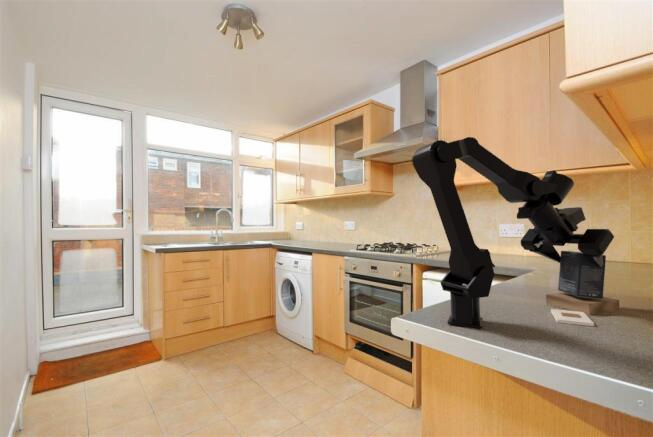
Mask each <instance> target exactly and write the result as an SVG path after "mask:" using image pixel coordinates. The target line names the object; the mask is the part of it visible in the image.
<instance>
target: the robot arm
mask: <svg viewBox="0 0 653 437" xmlns="http://www.w3.org/2000/svg"><path fill="white" fill-rule="evenodd" d="M456 160H460V161H461V162H462V163H464V164H465V165H466V166H468V167H469V168H471V170H474V171H476V172H477V173H478V174H479V175H481V176H483V177H484V178H485V179H487V180H488V181H489V182H491V183H493V184H494V185H495V186H496V188H497V192H498V193H499V195H500V196H502V198H503V199H505V201H506V202H508V203H510V204H517V203H524V204H523V205H522V206H519V207H518V208H517V209H518V211H517V213H516V219H518V220H520V219H521V220H523V219H524V220H525V219H527V220H528V221H529V222H530V223H531V225H533V228H529V229H528V230H527V231H526V233H525V234H524V236H523V237H522V238H521V240H520V246H521V247H522V249H524V251H529V252H532V253H534V254H537V255H539V256H542V257H545V258H547V259H549V260H552V261H553V262H556V263H559V264H560V258H561V254H560V253H559V252H558V251H557V249H556V248H555V246H557V247H564V246H565V245H566V244H573V245H575V244H576V245H577V250H578V252H582V253H583V256H584V257H585V258H587V259H588V260H590V261H591V262H592V263H594V264H595V265H597V266H598V267H602V266H603V256H602V255H605V252H606V251H607V249H608V248H609V246H610V244H611V243H612V241H613V240H614V238H615V235H614V234H613V233H612V231H611V230H610V229H609V228H587V229H586V230H585V231H584V233H574V232H577V230H578V229H579V227H578V224H580V223H582V222H585V221H586V216H585V213H584V210H583V208H582V207H581V206H580V207H578V206H577V207H566V208H558V207H554V206H559V205H560V204H562V203H563V201H564V200H565V198H567V196H568V195H569V193H570V192H571V190H572V189H573V188H574V185H575V182H574V180H573V179H572V177H569V176H568V175H565V174H562V173H558V172H557V170H550V171H546V172H545V173H544V174H543V177H542V178H541V179H540V177H539V176H537V175H535V174H534V173H530V172H528V171H525V170H524V171H523V170H518V169H516V168H513V167H512V166H510V165H509V164H507V163H506V162H505V161H504V160H502V159H501V158H499V157H498V156H497V155H495V154H494V153H492V152H491V151H490V150H488V149H487V148H485V147H484V146H482V145H481V144H480V143H479V141H478V140H477V139H476V138H475V137H473V136H467V137H465V138H462V139H457V140H453V141H450V142H447V141H446V140H441V139H440V140H436V141H434V142H431V143H429V144H426V145H424V146H422V147H419V148H418V149H416V151H414V153H413V156H412V157H411V162H412V166H413V168H414V170H415V171H416V174H417V176H418V177H419V179H420V180H421V181H422V182H423V183H424V184H425V185H426V186H427V187H428V188H429V189H430V191H431V195H432V198H433V200H434V203H435V207H436V211H437V212H438V215H439V219H440V221H441V224H442V227H443V229H444V233H445V236H446V240H447V241H448V245H449V248H450V252H449V257H448V266H449V270H448V271H447V273H446V274H445V276H444V277H443V278H442V279H441V281H440V285H441V288H442V291H445V292H448V293H450V316H449V318H448V319H447V325H453V326H461V327H467V328H469V327H470V328H476V329H482V328H483V324H484V318H483V317H481V304H480V303H481V302H480V299H481V298H487V297H488V298H489V297H490V296H489V295H490V292H491V287H492V283H493V281H494V277H495V271H494V270H495V269H494V268H496V265H495V264H494V263H493V260H492V257H491V252H490V250H489V249H487V248H480V247H479V246H477V244H476V242H475V240H474V236H473V233H472V231H471V228H470V225H469V222H468V219H467V216H466V213H465V210H464V208H463V207H464V206H463V205H462V201H461V198H460V195H459V192H458V189H457V187H456V183H455V178H456V177H455V175H456V170H457V167H458V166H457V161H456Z"/></svg>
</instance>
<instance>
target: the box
mask: <svg viewBox="0 0 653 437" xmlns="http://www.w3.org/2000/svg"><path fill="white" fill-rule="evenodd" d="M560 256H561V258H560V263H559V274H558V286H557V288H558V289H557V290H558V291H559V292H561V293H563V292H565V293H568V294H571V295H574V296H577V297H584V298H591V299H600V300H602V299H603V297H604V290H605V289H604V287H605V276H606V275H605V273H606V258H607V256H606V255H605V254H602V256H603V266H602V267H598V266H597V265H595V264H594V263H592V262H591V261H590V260H588V259H587V258H585V257H584V256H583V253H582V252H580V251H573V250H572V251H571V250H569V251H568V250H560Z"/></svg>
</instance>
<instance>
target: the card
mask: <svg viewBox="0 0 653 437" xmlns="http://www.w3.org/2000/svg"><path fill="white" fill-rule="evenodd" d="M550 312H551V314H552V316H553V317H554V319H555V321H556V323H561V324H569V325H579V326H585V327H595V323H594V322H593V320H591V318H589V315H588V314H585V313H584V312H578V311H572V310H568V309H557V308H556V309H555V308H550Z"/></svg>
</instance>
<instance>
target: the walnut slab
mask: <svg viewBox="0 0 653 437" xmlns="http://www.w3.org/2000/svg"><path fill="white" fill-rule="evenodd" d="M545 304H546V305H547V306H548V305H549V306H553V307H557V308H561V309H563V310H568V311H578V312H584V313H585V314H586V315H587V316H589V315H590V316H592V315H597V314H604V313H611V312H619V311H620V299H617V298H611V297H606V296H603V299H602V300H600V299H591V298H584V297H577V296H574V295H571V294H568V293H565V292H555V293H547V294H545Z"/></svg>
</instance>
